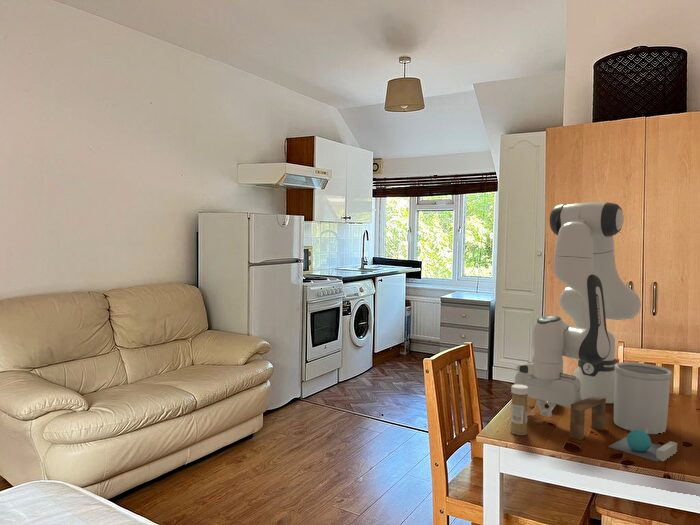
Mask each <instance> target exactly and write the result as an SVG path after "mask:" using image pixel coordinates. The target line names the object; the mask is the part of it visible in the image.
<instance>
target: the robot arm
mask: <svg viewBox="0 0 700 525" xmlns="http://www.w3.org/2000/svg"><path fill="white" fill-rule="evenodd" d="M549 214H550V215H549V227H550V230H551V231H552V232H553V234H554V235H556V236H557V237H556V239H555V240H556V241H555V247H554V255H553V272H554V275H555V277H556V278H557V279H558V280H559V282H561V283H562V284H563V285H565V288H563V290H562V291H561V294H559V295H560V296H559V306H560V307H561V309H562V310H563V312H564V313H565V314H566V315H568V316H569V317H570V319H571V320H572V321H573V323H574V324H575V326H573V325H570V324H567V323H565V322H563V319H562V318H561V317H560V316H557V315H544V316H543V315H542V316H540V317H538V318H536V320H535V322H534V325H533V330H532V332H533V333H532V348H533V353H532V354H533V355H532V356H531V357H532V358H531V361H529V362H524V363H521V364H518V365H517V366H516V371H517V372H516V374H515V377H514V383H513V385H515V384H520V385H525V386H527V387H528V397H527V398H532V399H534V400H536V404H537V406H538V408H539V415H541V416H545V417H552V415H553V414H552V413H553V412H552V411H553V410H554V409H555V407H556V405H557V406H558V405H559V406H561V407H562V406H563V407H565V408H569V409H571V404H573V403H576V402H578V401H581V400H584V399H586V398H589V397H592V396H595V395H597V396H601V397H606V404H614V389H615V364H617V363H620V358H615V354H616V353H615V351H616V348H615V347H616V346H615V345H616V339H615V336H614V334H612V332H611V331H609V330H608V329H607V320H614V321H615V320H616V321H623V320H624V321H625V320H633V319H634V318H636V317H637V316H638V314H639V312H640V310H641V308H642V307H641V306H642V305H641V304H642V303H641V299H640V297H639V295H638V294H637V293H636V291H635V290H633V289H631V288H630V287H629V286H628V285H627V284H625V282H624V281H623V280H622V279H621V277H620V275H619V273H618V270H617V265H616V258H615V255H616V254H615V243H614V242H615V241H614V236H616V235H617V234H618V233H620V231H621V230H622V228H623V226H624V220H625V219H624V218H625V217H624V211H623V209H622V207H621V206H620V205H619V204H617V203H614V202H609V201H607V202H595V201H594V202H593V201H586V202H577V203H575V202H574V203H569V204H567V203H562V204H561V203H560V204H557V205H556V206H554V208H552V210H551V211H550V213H549ZM563 357H567V358H569V359H573V360H577V368H576V369H574V372H573V374H572V375H570V374H568V373H564V371H563V370H564V358H563ZM544 401H546V402H548V405H547V406H548V408H547V407H545V405H544V404H545V403H544Z"/></svg>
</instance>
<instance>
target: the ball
mask: <svg viewBox="0 0 700 525" xmlns="http://www.w3.org/2000/svg"><path fill="white" fill-rule="evenodd" d="M626 437H627V443H628V445H629V446H630V448H632V449H633V450H635V451H637V452H644V451H647V450H648V449H649V448H650V446H651V443H652V440H651V437H650V435H649V434H647V433H645V432H644V431H641V430H633V431H630V432H629V433H628V434H627V435H626Z"/></svg>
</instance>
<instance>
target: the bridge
mask: <svg viewBox="0 0 700 525" xmlns="http://www.w3.org/2000/svg"><path fill="white" fill-rule="evenodd" d="M606 406H607V403H606V397H601V396H597V395H595V396H592V397H589V398H586V399H584V400H581V401H578V402H576V403H573V404H571V408H570V416H569V417H570V419H569V420H570V421H569V424H570V425H569V428H570V429H569V437H570V438H572V439H575V440H579V441H582V440H584V439H585V416H586V414H585V412H586V410H588V409H590V408H591V423H590V424H591V426H590V427H591V428H592V429H596V430H600V431H603V430H605V429H606V410H607V409H606Z"/></svg>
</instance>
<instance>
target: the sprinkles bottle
mask: <svg viewBox="0 0 700 525" xmlns="http://www.w3.org/2000/svg"><path fill="white" fill-rule="evenodd" d="M510 390H511V391H510V392H511V409H510V411H511V412H510V413H511V415H510V433H511V434H513V435H515V434H516V435H515V436H526V435H527V434H528V431H527V430H528V398H529V397H528V387H527V386H525V385H520V384H515V385H514V384H511V389H510Z"/></svg>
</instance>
